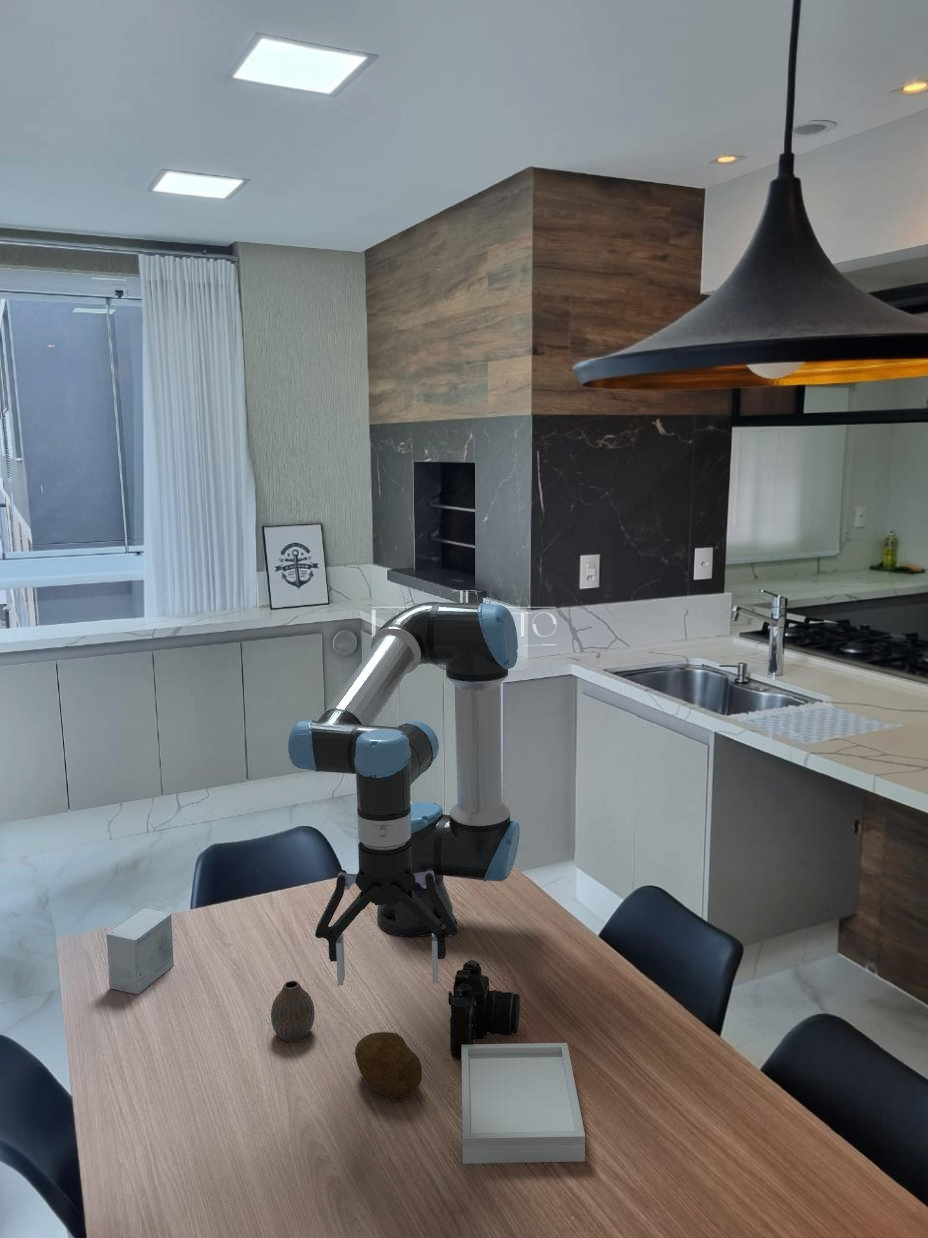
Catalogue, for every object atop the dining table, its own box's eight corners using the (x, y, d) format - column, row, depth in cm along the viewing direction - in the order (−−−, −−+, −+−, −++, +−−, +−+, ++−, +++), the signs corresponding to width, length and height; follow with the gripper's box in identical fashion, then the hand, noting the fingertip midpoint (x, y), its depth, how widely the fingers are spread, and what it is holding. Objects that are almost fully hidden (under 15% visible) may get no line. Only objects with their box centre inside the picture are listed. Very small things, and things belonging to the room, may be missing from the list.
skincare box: (139, 996, 164) (135, 939, 162) (108, 989, 166) (104, 934, 164) (176, 965, 174) (172, 912, 172) (146, 959, 176) (142, 907, 174)
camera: (511, 1066, 144) (511, 1006, 142) (443, 1059, 146) (441, 999, 144) (523, 1014, 157) (523, 958, 156) (460, 1008, 160) (459, 953, 158)
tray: (461, 1067, 144) (461, 1044, 143) (566, 1065, 144) (567, 1043, 143) (463, 1164, 124) (462, 1138, 124) (584, 1161, 124) (585, 1136, 124)
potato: (401, 1118, 133) (400, 1068, 132) (338, 1084, 140) (336, 1036, 139) (437, 1087, 139) (436, 1039, 138) (375, 1056, 147) (373, 1010, 145)
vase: (263, 1035, 152) (260, 985, 151) (297, 1016, 157) (295, 968, 156) (289, 1053, 148) (286, 1001, 146) (324, 1033, 153) (322, 983, 151)
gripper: (291, 853, 129) (297, 995, 133) (474, 849, 130) (475, 992, 133) (300, 831, 137) (305, 967, 140) (472, 828, 137) (473, 964, 141)
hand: (388, 979), depth 137 cm, fingers open, 13 cm apart
